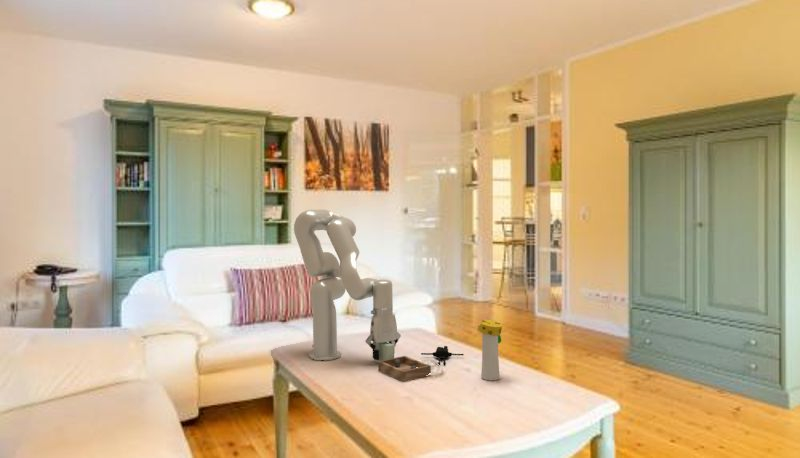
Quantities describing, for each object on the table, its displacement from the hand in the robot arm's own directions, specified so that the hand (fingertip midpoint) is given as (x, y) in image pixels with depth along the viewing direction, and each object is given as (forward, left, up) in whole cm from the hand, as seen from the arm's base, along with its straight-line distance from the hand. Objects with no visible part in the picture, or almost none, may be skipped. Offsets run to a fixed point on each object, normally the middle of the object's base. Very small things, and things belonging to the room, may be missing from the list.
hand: (383, 357), depth 202 cm
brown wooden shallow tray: (+15, -1, -2) cm, 15 cm away
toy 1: (+11, +20, -3) cm, 23 cm away
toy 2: (+38, +20, -2) cm, 43 cm away
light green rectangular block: (0, 0, -2) cm, 2 cm away
